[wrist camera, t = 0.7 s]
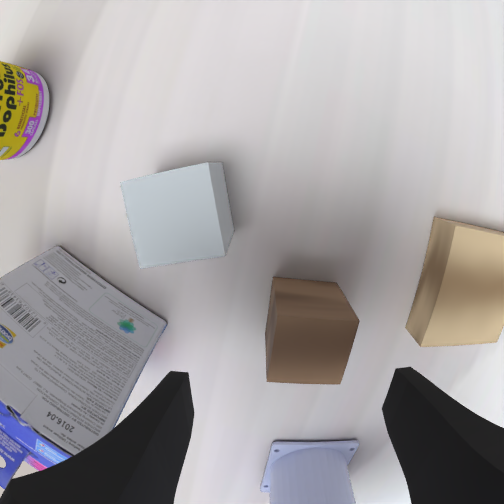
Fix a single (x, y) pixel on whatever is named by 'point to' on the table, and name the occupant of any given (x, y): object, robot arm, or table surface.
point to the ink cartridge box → (65, 359)
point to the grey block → (179, 215)
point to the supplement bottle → (21, 109)
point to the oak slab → (459, 287)
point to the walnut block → (308, 332)
